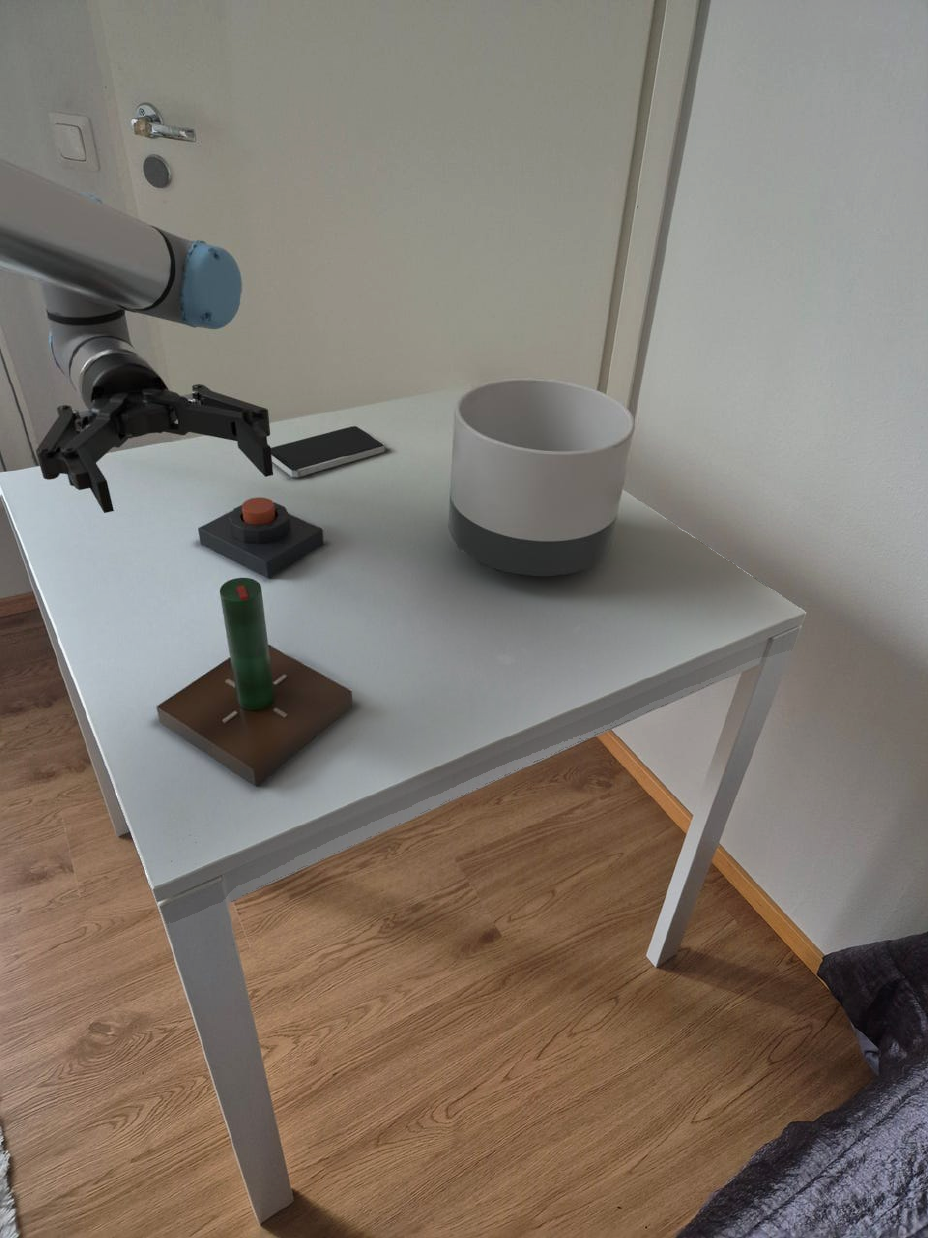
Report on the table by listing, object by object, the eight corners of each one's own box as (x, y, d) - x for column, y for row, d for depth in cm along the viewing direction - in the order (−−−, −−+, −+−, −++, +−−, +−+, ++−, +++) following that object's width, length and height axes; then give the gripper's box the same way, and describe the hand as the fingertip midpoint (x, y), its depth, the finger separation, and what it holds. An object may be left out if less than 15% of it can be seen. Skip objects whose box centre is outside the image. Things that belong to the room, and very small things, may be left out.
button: (236, 519, 91) (234, 505, 90) (259, 506, 94) (258, 493, 93) (259, 530, 90) (257, 516, 89) (282, 517, 92) (280, 504, 91)
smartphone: (386, 445, 114) (294, 471, 106) (386, 452, 115) (294, 480, 106) (354, 424, 118) (263, 448, 110) (354, 432, 119) (264, 456, 111)
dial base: (159, 723, 71) (155, 705, 69) (259, 653, 79) (257, 636, 77) (256, 787, 66) (253, 769, 64) (352, 706, 74) (351, 689, 72)
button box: (200, 544, 93) (195, 514, 91) (257, 513, 99) (254, 485, 97) (268, 578, 89) (264, 548, 86) (323, 544, 95) (321, 515, 92)
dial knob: (233, 690, 72) (215, 578, 64) (269, 682, 73) (255, 571, 65) (241, 714, 69) (223, 601, 62) (278, 705, 70) (264, 593, 63)
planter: (496, 615, 86) (512, 466, 75) (420, 527, 99) (424, 389, 88) (640, 575, 93) (673, 435, 82) (551, 498, 107) (570, 368, 96)
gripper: (244, 403, 88) (328, 486, 75) (-6, 447, 77) (40, 555, 63) (236, 334, 84) (325, 409, 70) (-31, 371, 72) (13, 469, 58)
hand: (190, 479), depth 67 cm, fingers open, 13 cm apart
